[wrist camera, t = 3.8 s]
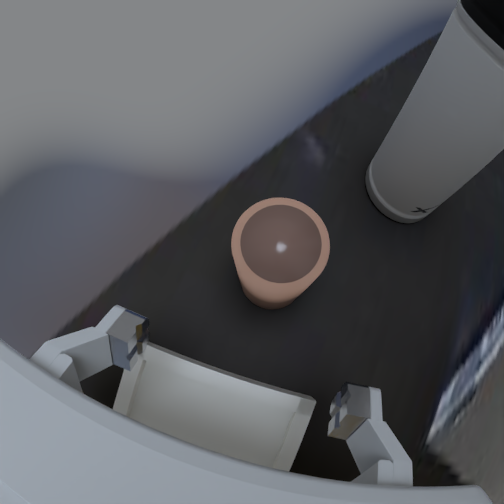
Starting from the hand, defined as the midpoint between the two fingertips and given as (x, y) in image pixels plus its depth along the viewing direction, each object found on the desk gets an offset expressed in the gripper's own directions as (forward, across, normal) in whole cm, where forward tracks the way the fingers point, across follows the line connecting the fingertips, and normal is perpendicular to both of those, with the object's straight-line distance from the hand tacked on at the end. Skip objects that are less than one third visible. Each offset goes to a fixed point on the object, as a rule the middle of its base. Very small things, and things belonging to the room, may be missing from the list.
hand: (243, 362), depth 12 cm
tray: (+2, +1, +11) cm, 11 cm away
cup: (+10, 0, +2) cm, 10 cm away
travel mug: (+17, -8, -4) cm, 20 cm away
